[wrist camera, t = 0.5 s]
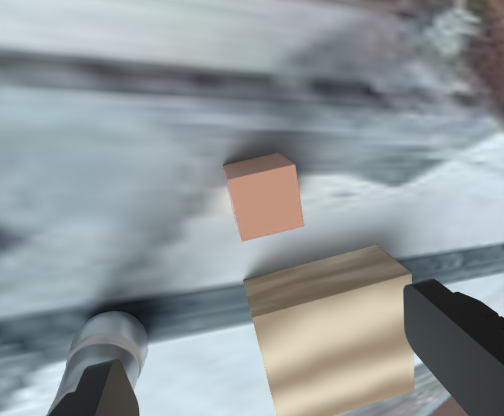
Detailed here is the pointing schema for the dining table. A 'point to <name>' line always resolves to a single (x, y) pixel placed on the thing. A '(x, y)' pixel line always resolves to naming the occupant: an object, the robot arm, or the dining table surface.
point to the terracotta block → (264, 195)
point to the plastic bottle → (105, 349)
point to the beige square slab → (333, 332)
